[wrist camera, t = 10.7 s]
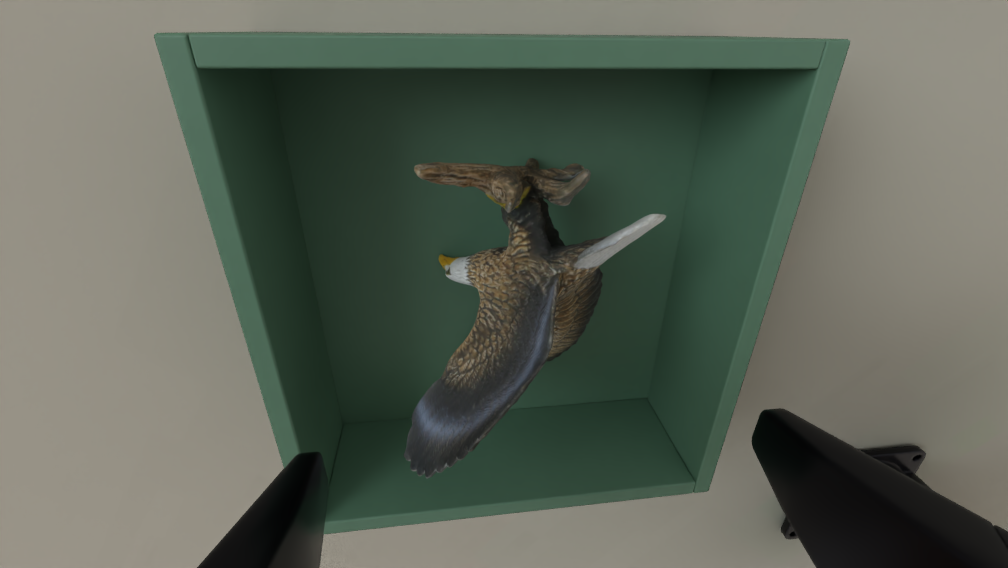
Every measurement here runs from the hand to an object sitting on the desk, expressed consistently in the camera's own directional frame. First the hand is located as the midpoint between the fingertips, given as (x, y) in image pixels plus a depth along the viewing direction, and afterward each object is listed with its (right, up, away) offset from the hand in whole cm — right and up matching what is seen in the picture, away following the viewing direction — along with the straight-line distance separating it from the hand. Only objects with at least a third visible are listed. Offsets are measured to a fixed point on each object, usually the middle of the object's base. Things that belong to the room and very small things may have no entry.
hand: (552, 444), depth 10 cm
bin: (-1, +4, +8) cm, 9 cm away
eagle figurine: (-1, +4, +8) cm, 9 cm away
